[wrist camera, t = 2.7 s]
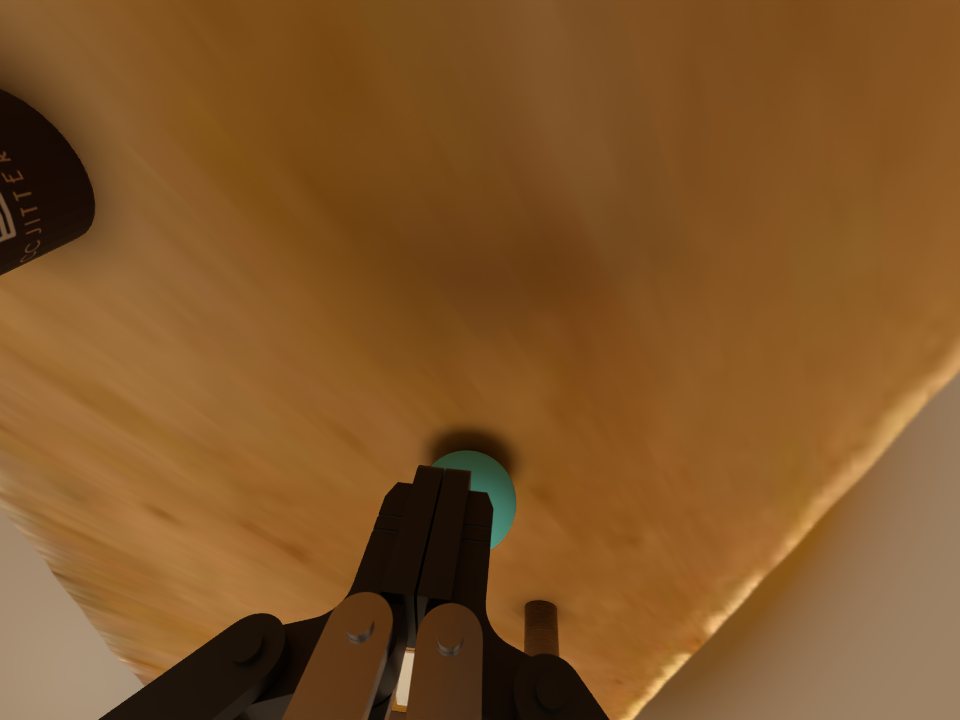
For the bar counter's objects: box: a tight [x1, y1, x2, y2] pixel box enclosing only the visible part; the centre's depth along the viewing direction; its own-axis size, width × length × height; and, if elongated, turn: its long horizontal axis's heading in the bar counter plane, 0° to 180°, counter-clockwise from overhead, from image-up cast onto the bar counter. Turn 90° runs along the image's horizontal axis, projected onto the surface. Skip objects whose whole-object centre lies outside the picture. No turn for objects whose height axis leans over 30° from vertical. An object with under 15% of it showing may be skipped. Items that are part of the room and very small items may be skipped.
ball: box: [431, 450, 516, 550], centre depth 23 cm, size 6×6×6 cm
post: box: [524, 601, 559, 657], centre depth 30 cm, size 3×3×9 cm
